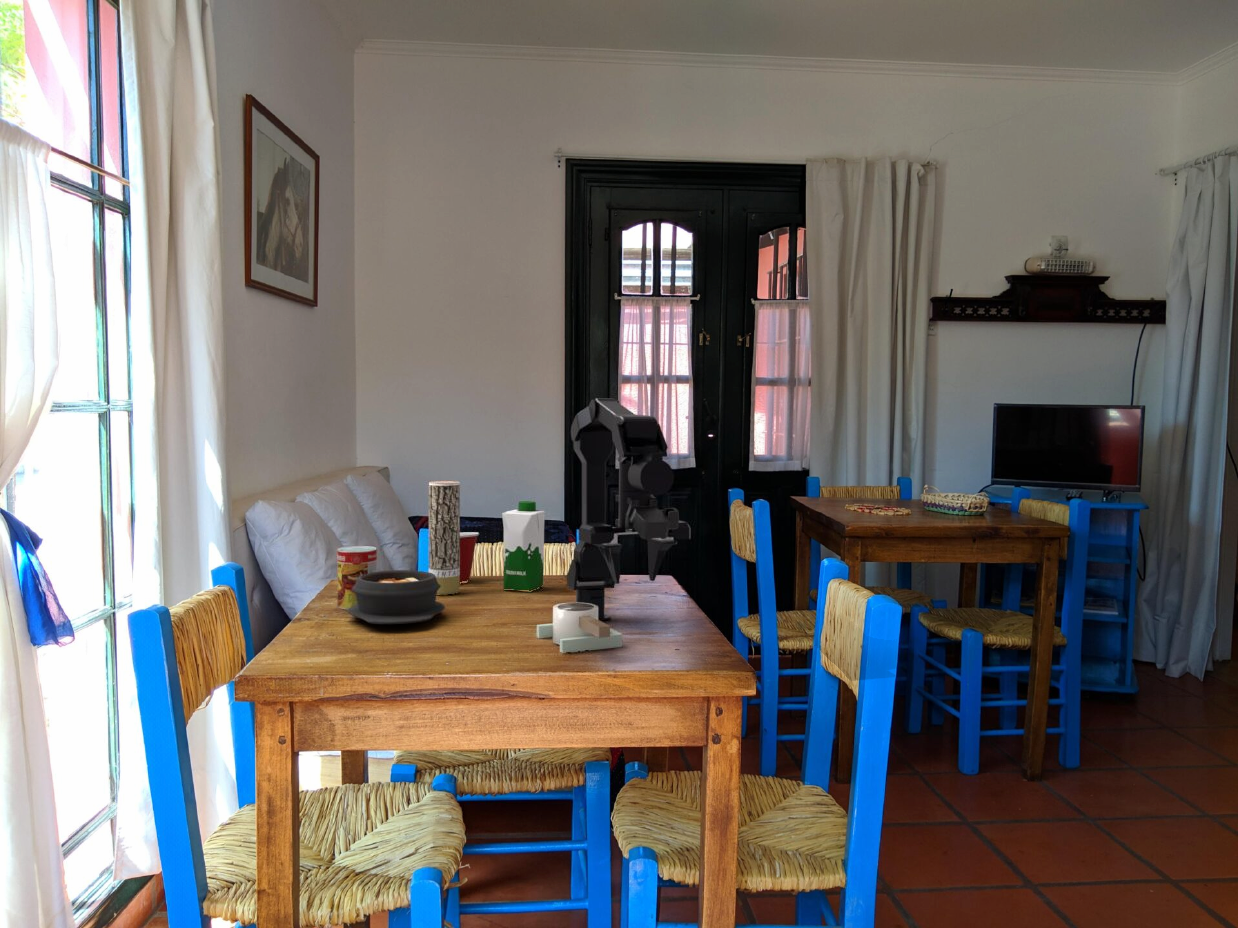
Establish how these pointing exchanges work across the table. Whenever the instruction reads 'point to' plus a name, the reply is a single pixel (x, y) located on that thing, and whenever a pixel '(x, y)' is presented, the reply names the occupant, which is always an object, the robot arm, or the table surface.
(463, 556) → the plastic cup
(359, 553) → the canned food
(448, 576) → the paper tube
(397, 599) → the casserole
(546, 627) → the u-shaped frame
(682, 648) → the table surface
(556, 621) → the saucepan
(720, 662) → the table surface
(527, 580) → the milk carton
